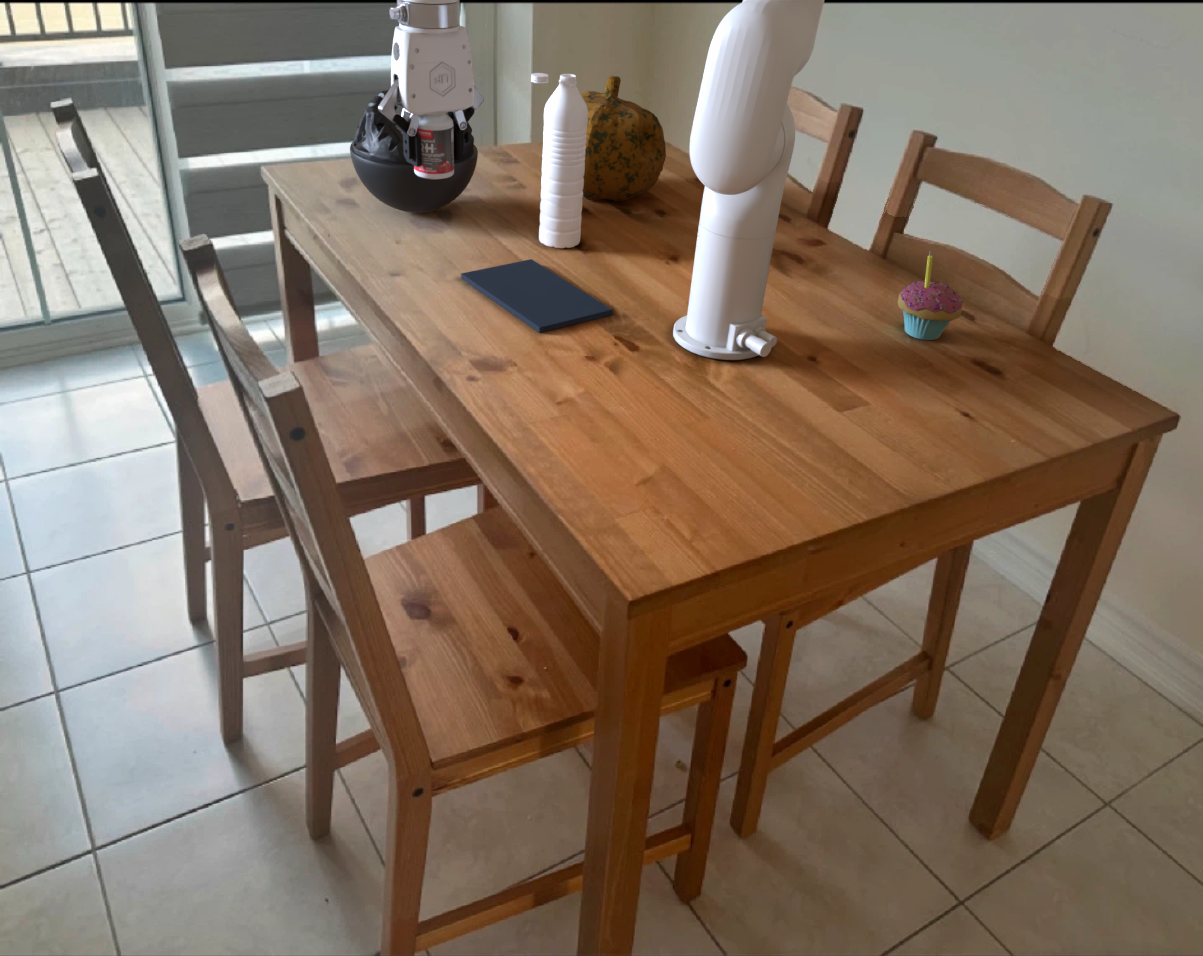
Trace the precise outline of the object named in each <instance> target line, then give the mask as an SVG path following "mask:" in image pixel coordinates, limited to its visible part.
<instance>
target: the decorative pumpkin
mask: <svg viewBox="0 0 1203 956" xmlns="http://www.w3.org/2000/svg"><path fill="white" fill-rule="evenodd" d="M621 82H622V80H621V77H620V76H617V75H616V76H614V75H610V76H609V77H608V78H607V79H606V83H605V88H604V92H599V91H596V90H586V91H584V92H583V93H580V94H581V96H582V98H583V99H584V101H585V103H586V105H587V109H588V123H587V133H586V134H587V137H586V144H585V145H586V149H585V151H586V153H585V172H584V177H583V178H584V187H583V190H582V191H583V198H585V199H586V200H587V201H597V200H611V201H615V202H623V201H626V200H629V199H630V198H633V197H635V196H637V195H640V194H643V193H645V192H647V191H649V190H650V189H652V188H653V187H654V186H655V185H656V184H657V182H658V180H659V178H660V175H661V173H662V172H663V170H664V164H665V162H666V157H667V149H666V140H665V135H664V134H665V133H664V129H663V126H662V124H661V122H660V120H659V118H658V117H657V116H656V115H655V113H653V112H652V111H650V110H648V109H646V108H644V107H642V106H641V105H639V104H637V103H636V102H633V101H630V100H625V99H622V98H619V92H620V86H621Z"/></svg>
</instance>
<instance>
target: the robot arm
mask: <svg viewBox="0 0 1203 956" xmlns="http://www.w3.org/2000/svg"><path fill="white" fill-rule="evenodd" d="M824 4H825V0H742V2H740V3H739V4H737V5H735V6H734V7H733V8H732V9H731V10H730V11H728V12H727V13H726V14H725V16H723V17H722V20H721V21H720V22H719V24H718V26H717V27H716V30H715V31H714V34H713V36H712V39H711V41H710V44H709V48H708V51H707V55H706V60H705V65H704V70H703V74H702V75H703V76H702V79H701V84H700V87H699V88H700V89H699V93H698V98H697V103H696V107H695V112H694V117H693V122H692V126H691V131H690V138H689V148H688V149H689V159H690V160H689V161H690V164H691V168H692V170H693V172H694V175H696V177H697V178H698V180H699V181H700V182H701V184H703V186H704V189H703V194H702V199H701V207H700V214H699V222H698V230H697V237H696V244H695V252H694V260H693V266H692V267H693V268H692V274H691V284H690V290H689V298H688V306H687V312H686V313H687V314H686V315H684V316H681V317H680V318H678V320H676V321H675V323H674V325H673V330H672V337H673V339H674V341H675V342H676V343H677V344H678V345H679V346H680V347H682V348H683V349H685V350H687V351H688V352H690V353H693V354H696V355H698V356H702V357H705V358H709V359H714V360H722V361H723V360H724V361H742V360H747V359H748V360H749V359H753V358H755V357H758V356H760V357H762V358H765V357H767V356H768V355H769V354H770V353H771V351H772V348H773V347H775V346H776V345H777V343H778V338H777V337H776V336H775V335H773V334H772V333H769V332H768V331H767V330H766V325H767V320H768V318H767V317H766V316H764V315H762V313H763V308H764V307H763V306H764V301H765V294H766V288H767V284H768V277H769V272H770V266H771V260H772V254H773V249H774V242H775V237H776V232H777V228H778V227H777V226H778V223H779V222H778V221H779V215H780V211H781V205H782V200H783V195H784V190H785V185H786V181H787V177H788V173H789V169H790V165H791V161H792V157H793V154H794V147H795V142H796V123H795V119H794V118H795V117H794V115H793V112H792V109H791V108H790V105H789V104H788V99H789V95H790V92H791V89H792V84H793V82H794V81H793V80H794V77H796V75H798V74H799V73H800V72H801V71H802V70H803V68H805V66H806V65H807V63H808V62H809V60H810V58H811V56H812V54H813V51H814V48H815V43H816V37H817V33H818V29H819V23H820V19H821V15H822V12H823V8H824ZM460 11H461V10H460V0H396V6H393V7H390V8H389V18H390V19H391V20H397V22H398V25H397V26H395V28H394V32H393V38H392V49H391V58H390V59H391V62H390V64H391V65H390V87H389V89H388V90H389V91H388V92H387V94H386V95H385V97H384V98H383V100H382V101H381V103H380V104H379V106H378V110H379V111H380V112H381V113H382V114H383V115H384V116H386V117H387V118H388V119H389V120H390V121H391V122H392V123H393V124H394V125H395V126H396V127H397V129H399V130H400V131H402V132H403V150H404V157H405V158H406V161H407V162H408V163H410V164H412V165H414V166H416V167H419V166H421V165H422V159H421V138H420V136H418V135H417V129H418V125H419V120H420V116H421V115H424V114H433V113H441V112H447V113H446V114H447V116H449V117H450V118H451V119H452V120H453V125H454V126H453V128H454V129H453V130H454V159H455V160H457V161H459V160H462V151H463V130H465V129H466V127H467V122H468V123H469V121H470V120H471V118H472V117H473V116H474V115H475V111H477V110H478V109H479V108H480V106H481V105H482V104H483V103H484V101H485V98H484V96H483V94H482V93H481V92H480V91H479V89H478V88H477V87H476V85H475V80H474V79H475V78H474V68H473V66H474V65H473V58H472V57H473V56H472V50H471V45H470V40H469V36H468V31H467V28H466V26H463V25H461V21H460V20H461V17H460V15H461V14H460ZM395 106H397V108H400V109H402V110H401V114H400V113H398V112H397V111H396V110H395V109H394V107H395Z"/></svg>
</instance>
